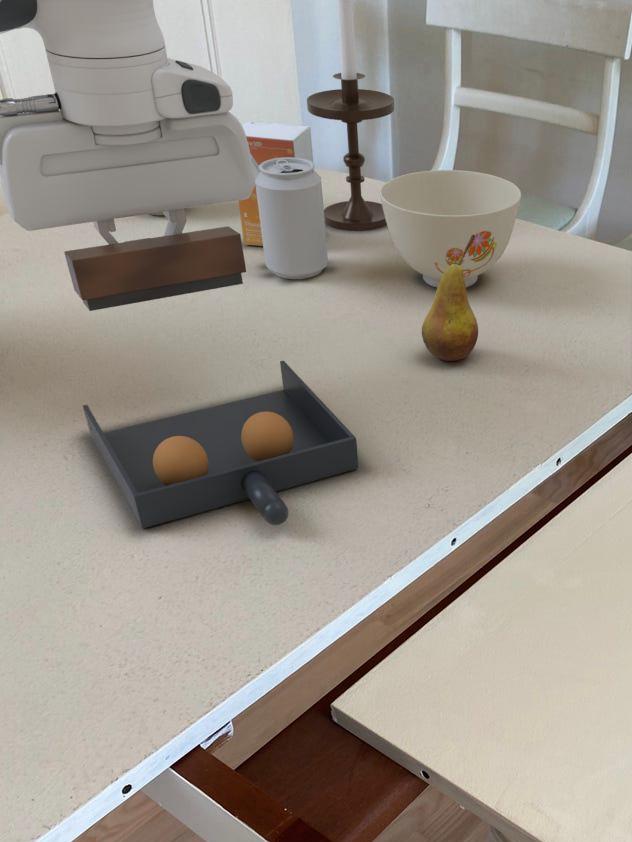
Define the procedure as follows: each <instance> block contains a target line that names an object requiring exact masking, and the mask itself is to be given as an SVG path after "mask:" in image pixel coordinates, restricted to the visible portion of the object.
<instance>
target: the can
mask: <svg viewBox="0 0 632 842" xmlns="http://www.w3.org/2000/svg"><path fill="white" fill-rule="evenodd" d="M315 168H316V167H315V163H314V162H313V163H312V162H311V161H309V160H306V159H301V158H292V157H287V158H275V159H270V160H267V161H265V162H262V163H261V164H260V165H259V170H261V172H260V173H259V174H258V176H257V177H256V179H255V185H256V193H257V201H258V209H259V217H260V224H261V232H262V240H263V246H262V247H263V255H264V263H265V267H266V268H267V269H268V270H269V271H271V272H272V273H273V274H274V275H275V276H277V277H279V278H282V279H287V280H304V279H310V278H313V277H316V276H318V275H320V274H321V273H322V271H323V270H324V269H325V268H326V267H327V266H328V264H329V257H328V256H329V255H328V246H327V233H326V223H325V219H324V210H325V207H324V196H323V186H322V185H323V184H322V177H321V176H320V174H318V173H317V171H316V170H315ZM313 169H314V170H313Z"/></svg>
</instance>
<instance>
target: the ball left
mask: <svg viewBox="0 0 632 842" xmlns="http://www.w3.org/2000/svg"><path fill="white" fill-rule="evenodd" d="M153 467H154V470H155V473H156V475H157V477H158V478H159V479H160V480H161V481H162V482H163V483H164V484H165V485H167V486H168V485H171V484H175V483H179V482H183V481H187V480H190V479H194V478H198V477H202V476H205V475H206V474H207V472H208V467H209V462H208V457H207V454H206V452H205V450H204V449H203V447H202V446H201V445H200V444H199V443H198V442H196V441H195V440H193V439H191V438H189V437H185V436H173V437H170V438H168V439H166V440H164V441H163V442H161V443H160V444H159V446H158V447H157V448H156V450H155V453H154V456H153Z"/></svg>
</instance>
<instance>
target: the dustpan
mask: <svg viewBox="0 0 632 842" xmlns="http://www.w3.org/2000/svg"><path fill="white" fill-rule="evenodd" d="M279 365H280V372H281V373H280V374H281V381H282V382H281V383H282V390H278V391H273V392H269V393H265V394H261V395H256V396H252V397H248V398H244V399H240V400H235V401H231V402H226V403H222V404H219V405H214V406H210V407H205V408H201V409H197V410H193V411H189V412H184V413H181V414H180V413H179V414H177V415H172V416H168V417H164V418H158V419H155V420H151V421H147V422H142V423H138V424H134V425H129V426H126V427H121V428H118V429H113V430H108V431H105V432H104V431H103V430H102V428H101V426H100V425H99V423H98V421H97V420H96V418H95V416H94V414H93V412H92V411H91V408H90V407H89V406H88V404H83V405H82V409H83V412H84V416H85V420H86V423H87V427H88V430H89V434H90V437H91V440H92V441H93V443H94V445H95V447H96V449H97V451H98V452H99V454H100V456H101V458H102V459H103V462H104V463H105V465H106V466H107V468H108V470H109V472H110V474H111V476H112V477H113V479H114V482H115V483H116V485H117V486H118V488H119V490H120V493H121V494H122V495H123V498H124V499H125V501H126V503H127V504H128V507H129V508H130V510H131V512H132V513H133V515H134V517H135V519H136V521H137V523H138V524H139V526H140V528H141V529H146V528H150V527H153V526H156V525H157V526H158V525H160V524H164V523H167V522H171V521H175V520H178V519H182V518H186V517H189V516H192V515H196V514H199V513H203V512H207V511H210V510H211V511H212V510H214V509H217V508H221V507H224V506H229V505H231V504H235V503H239V502H242V501H246V500H250V501H251V502H252V504H253V505H254V506H255V508H256V510H257V511H258V512H259V513H260V515H261V516H262V518H263V519H264V520H265V521H266V523H268V524H269V525H272V526H280V525H282V524H285V522H286V521H287V520H288V517H289V508H288V506H287V504H286V503H285V502H284V500H283V499H282V498H281V497H280V495H279V494H278V492H279V491H282V490H285V489H290V488H292V487H297V486H300V485H303V484H306V483H312V482H314V481H318V480H321V479H325V478H329V477H332V476H337V475H340V474H342V473H346V472H350V471H354V470H357V469H359V457H358V456H359V455H358V445H357V437H356V436H355V435H354V434H353V433H352V431H350V430H349V429H348V428H347V426H346V425H345V424H344V423H343V422H342V421H341V420H340V419H339V418H338V417H337V415H336V414H334V412H333V411H331V409H330V408H329V407H328V406H327V405H326V404H325V403H324V401H322V400H321V399H320V398H319V397H318V396H317V394H316V393H315V392H314V391H313V390H312V389H311V387H309V386H308V384H306V382H304V380H303V379H302V378H301V377H300V376H299V375H298V374H297V373H296V372H295V371H294V370H293V369H292V368H291V366H290V365H289V364H288V363H287V362H286V361H285V360H280V361H279ZM260 412H273V413H276V414H278V415H280V416H282V417H283V418H284V419H285V420H286V421H287V422H288V423H289V425H290V427H291V429H292V432H293V438H294V440H293V446H292V449H291V451H290V453H289V454H285V455H281V456H277V457H273V458H270V459H266V460H262V461H256V460H254V459H253V458H251V457H250V456H249V455H248V454H247V452H246V451H245V449H244V447H243V445H242V440H241V433H242V429H243V426H244V424H245V423H246V421H247V420H248V419H249V418H250V417H251V416H253V415H254V414H257V413H260ZM173 436H185V437H189V438H191V439H193V440H195V441H196V442H198V443H199V444H200V445H201V446H202V447H203V449H204V450H205V452H206V454H207V457H208V462H209V467H208V472H207V474H206V475H205V476H202V477H198V478H194V479H190V480H187V481H183V482H179V483H175V484H171V485H168V486H167V485H165V484H164V483H163V482H162V481H161V480H160V479H159V478H158V477H157V475H156V473H155V470H154V467H153V456H154V453H155V450H156V448H157V447H158V446H159V444H160V443H161V442H163V441H164V440H166V439H168V438H170V437H173Z"/></svg>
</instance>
